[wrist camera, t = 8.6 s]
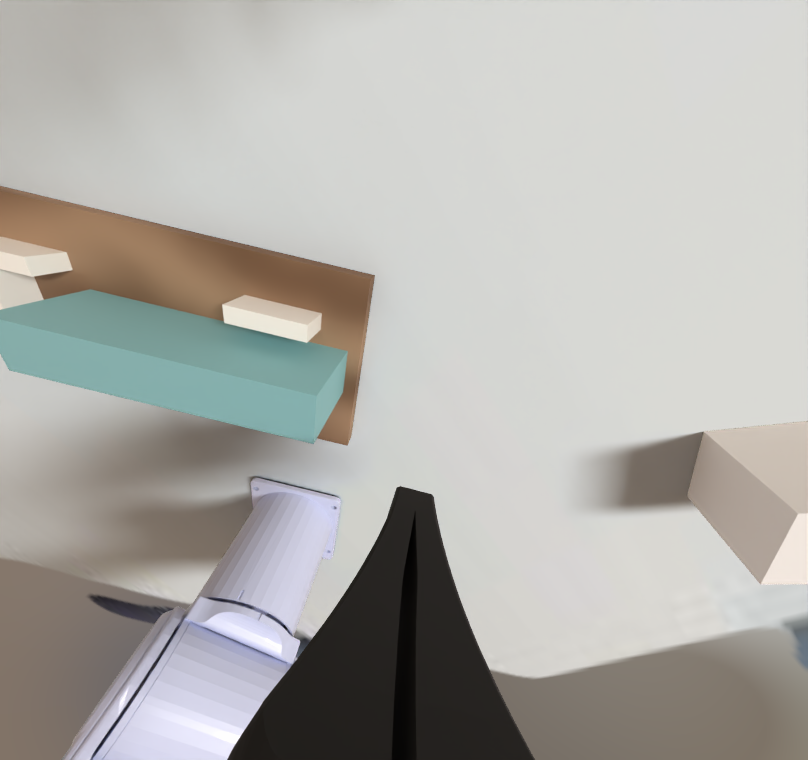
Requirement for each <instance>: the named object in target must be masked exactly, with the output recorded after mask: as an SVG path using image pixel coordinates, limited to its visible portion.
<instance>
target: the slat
mask: <svg viewBox="0 0 808 760" xmlns="http://www.w3.org/2000/svg"><path fill="white" fill-rule="evenodd" d="M0 354H1V356H2V358H3V360H4V361H5V363H6V365H7V367H8V369H9V370H10V371H14V372H19V373H23V374H27V375H31V376H35V377H39V378H43V379H47V380H52V381H56V382H60V383H64V384H68V385H72V386H76V387H81V388H85V389H89V390H93V391H97V392H101V393H105V394H109V395H114V396H118V397H122V398H126V399H130V400H134V401H138V402H142V403H147V404H151V405H155V406H159V407H163V408H167V409H171V410H175V411H180V412H184V413H188V414H192V415H196V416H200V417H204V418H208V419H213V420H217V421H221V422H225V423H229V424H233V425H237V426H242V427H246V428H250V429H254V430H258V431H262V432H266V433H270V434H275V435H279V436H283V437H287V438H291V439H295V440H299V441H303V442H308V443H312V444H314V442H315V441H316V439H317V437H318V435H319V434H320V432H321V430H322V428H323V427H324V425H325V423H326V421H327V419H328V418H329V416H330V414H331V412H332V411H333V409H334V407H335V405H336V404H337V402H338V400H339V398H340V397H341V395H342V393H343V388H344V380H345V371H346V362H347V354H348V351H345V350H341V349H337V348H332V347H328V346H324V345H320V344H316V343H312V342H307V343H306V342H302V341H297V340H293V339H289V338H285V337H281V336H277V335H272V334H268V333H264V332H260V331H256V330H252V329H247V328H243V327H239V326H235V325H231V324H227V323H224V321H220V320H216V319H212V318H208V317H203V316H199V315H195V314H191V313H187V312H183V311H178V310H174V309H170V308H166V307H162V306H158V305H154V304H149V303H145V302H141V301H137V300H133V299H129V298H124V297H120V296H116V295H112V294H108V293H104V292H99V291H95V290H91V289H89V290H85V291H81V292H76V293H72V294H67V295H63V296H58V297H54V298H50V299H45V300H41V301H36V302H32V303H27V304H23V305H19V306H14V307H10V308H5V309H1V310H0Z"/></svg>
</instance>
